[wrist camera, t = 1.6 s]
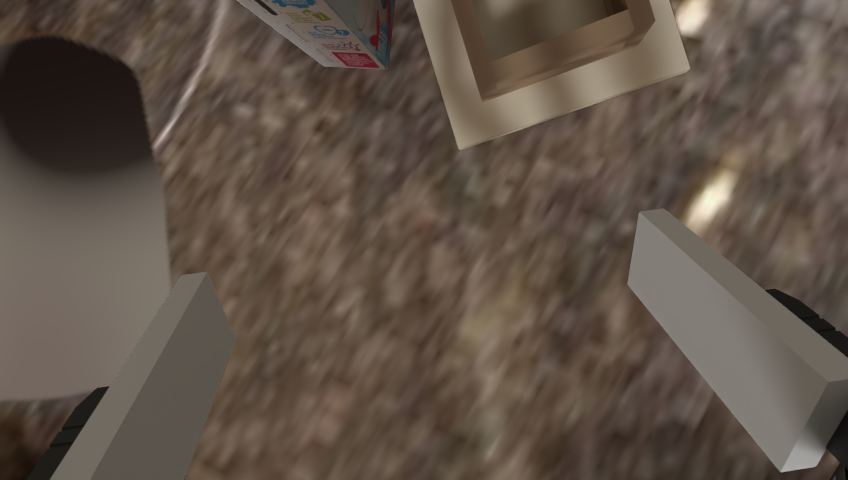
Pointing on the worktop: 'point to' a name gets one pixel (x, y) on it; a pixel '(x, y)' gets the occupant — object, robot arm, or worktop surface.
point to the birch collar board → (543, 57)
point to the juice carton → (333, 29)
